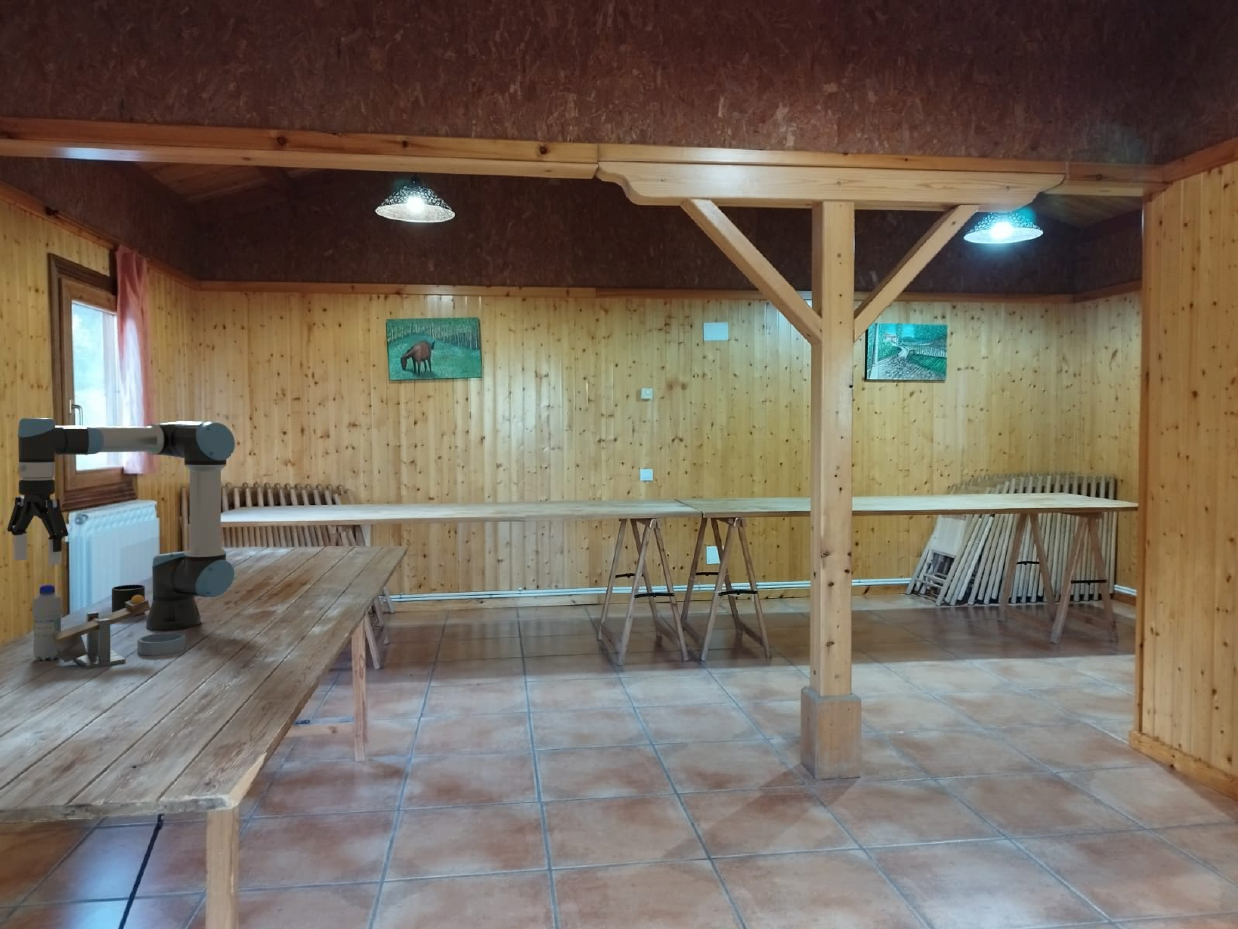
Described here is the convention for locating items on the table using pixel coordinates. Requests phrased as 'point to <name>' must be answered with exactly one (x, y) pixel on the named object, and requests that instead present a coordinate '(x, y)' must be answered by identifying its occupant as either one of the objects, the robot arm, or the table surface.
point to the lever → (71, 639)
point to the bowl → (161, 643)
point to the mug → (125, 595)
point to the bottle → (46, 622)
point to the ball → (137, 599)
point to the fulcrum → (99, 646)
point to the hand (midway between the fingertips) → (37, 562)
